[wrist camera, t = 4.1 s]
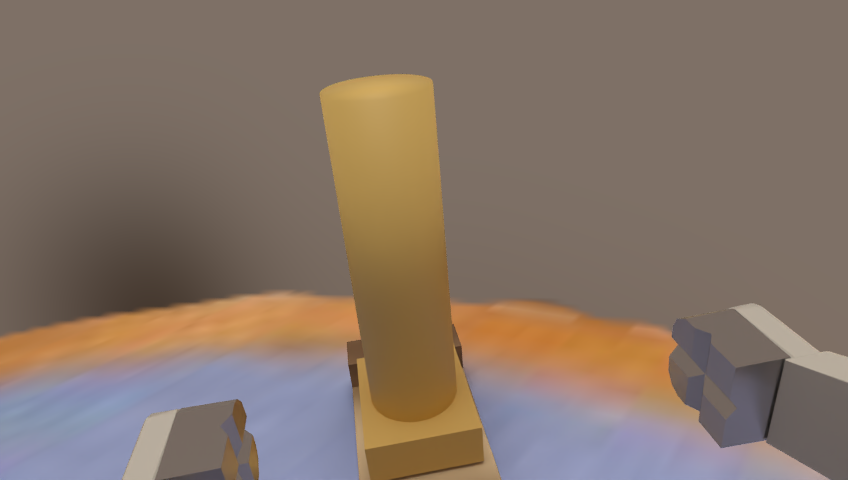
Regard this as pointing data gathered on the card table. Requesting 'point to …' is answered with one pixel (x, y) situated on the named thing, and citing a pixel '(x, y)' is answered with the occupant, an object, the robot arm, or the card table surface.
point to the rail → (474, 476)
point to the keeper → (399, 275)
